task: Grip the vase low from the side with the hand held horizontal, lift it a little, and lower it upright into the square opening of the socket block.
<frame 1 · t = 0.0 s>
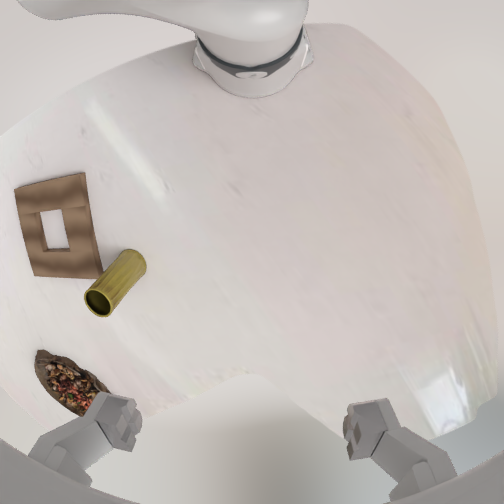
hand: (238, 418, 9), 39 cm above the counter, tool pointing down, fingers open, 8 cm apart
vase: (132, 263, 50), on the counter
food dish: (76, 385, 70), on the counter
socket: (56, 228, 48), on the counter
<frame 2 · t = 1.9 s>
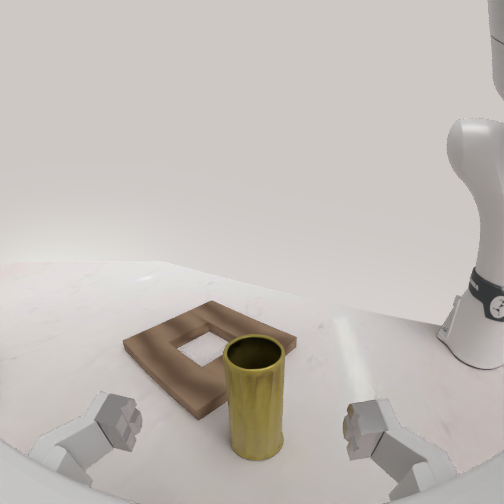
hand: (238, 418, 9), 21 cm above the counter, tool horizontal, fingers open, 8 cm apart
vase: (257, 441, 27), on the counter
socket: (206, 351, 44), on the counter
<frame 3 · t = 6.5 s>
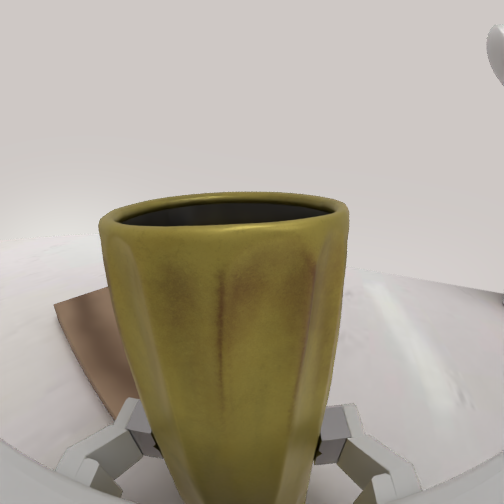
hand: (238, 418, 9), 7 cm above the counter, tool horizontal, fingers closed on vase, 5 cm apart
vase: (245, 498, 10), on the counter, touching gripper
socket: (170, 325, 27), on the counter
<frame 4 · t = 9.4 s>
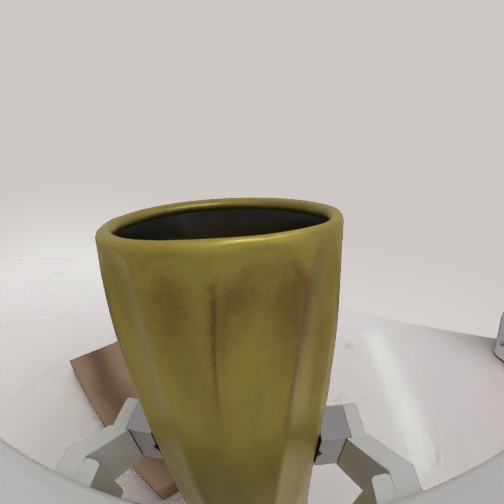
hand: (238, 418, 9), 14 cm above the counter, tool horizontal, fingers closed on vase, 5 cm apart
vase: (248, 500, 10), point 7 cm above the counter, touching gripper
socket: (183, 384, 28), on the counter
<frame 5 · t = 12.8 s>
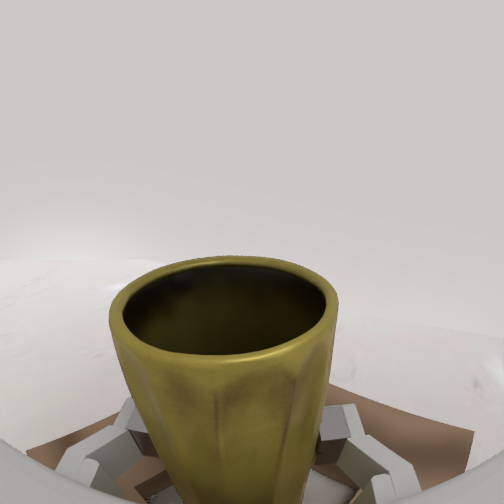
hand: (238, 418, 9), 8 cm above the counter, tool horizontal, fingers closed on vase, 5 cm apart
when the fingers open (8 cm above the counter, at t = 13.3 s): vase stays where it is, resting in socket.
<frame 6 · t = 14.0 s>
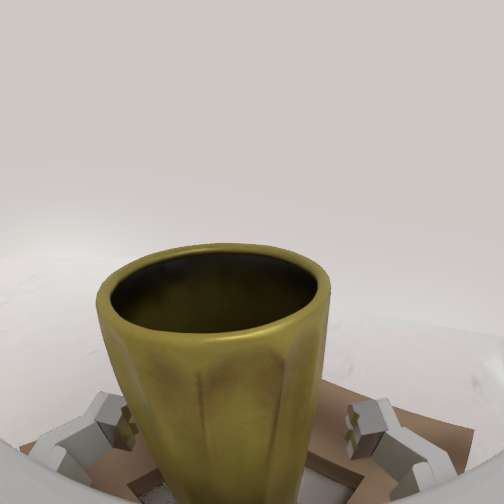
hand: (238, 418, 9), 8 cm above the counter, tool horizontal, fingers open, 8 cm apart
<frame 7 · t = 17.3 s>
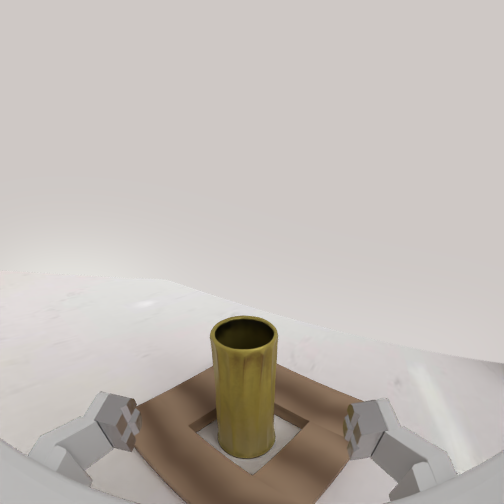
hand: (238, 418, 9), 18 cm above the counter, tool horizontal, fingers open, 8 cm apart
vase: (246, 438, 25), resting in socket
socket: (249, 436, 25), on the counter
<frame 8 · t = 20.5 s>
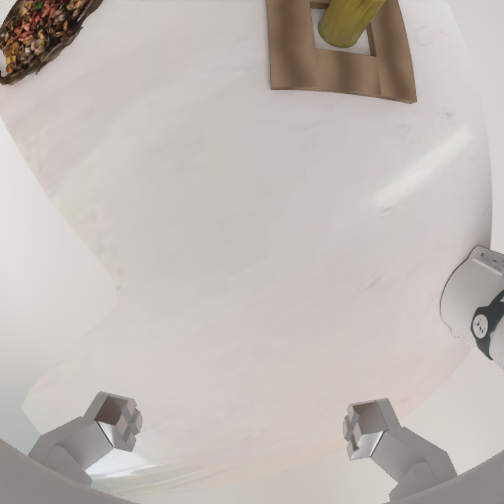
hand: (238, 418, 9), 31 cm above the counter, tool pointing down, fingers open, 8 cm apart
vase: (337, 32, 29), resting in socket
food dish: (51, 12, 27), on the counter
socket: (340, 32, 29), on the counter
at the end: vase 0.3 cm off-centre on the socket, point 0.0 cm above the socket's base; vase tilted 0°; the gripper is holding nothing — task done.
